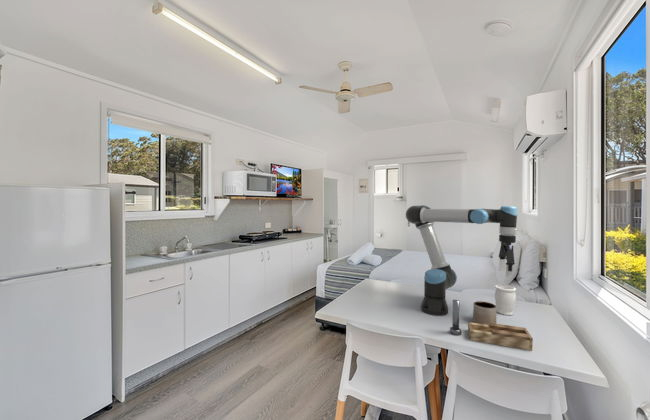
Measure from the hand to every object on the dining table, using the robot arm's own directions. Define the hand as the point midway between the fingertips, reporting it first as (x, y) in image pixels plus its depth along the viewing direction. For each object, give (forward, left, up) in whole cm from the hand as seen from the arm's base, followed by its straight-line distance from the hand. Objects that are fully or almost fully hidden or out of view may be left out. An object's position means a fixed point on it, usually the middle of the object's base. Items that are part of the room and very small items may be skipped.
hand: (505, 273), depth 153 cm
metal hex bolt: (-25, -27, -26) cm, 45 cm away
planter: (-10, -7, -26) cm, 29 cm away
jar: (+3, +13, -26) cm, 29 cm away
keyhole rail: (-7, -26, -25) cm, 37 cm away
